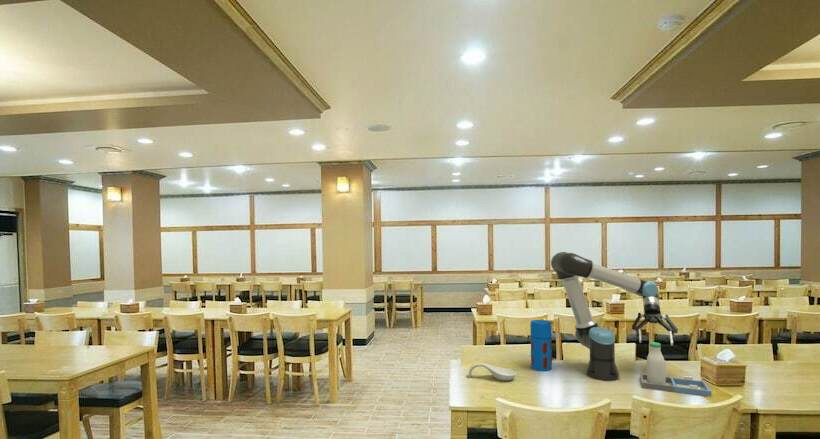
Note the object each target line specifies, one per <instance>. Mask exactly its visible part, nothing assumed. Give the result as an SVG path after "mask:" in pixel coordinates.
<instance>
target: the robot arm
mask: <svg viewBox="0 0 820 439" xmlns="http://www.w3.org/2000/svg"><path fill="white" fill-rule="evenodd" d="M550 266H551V268H552V270H553V271H554V272H555V273H556V277H557V279H558V280H559V281H561V282H562V285H563V288H564V290H565V293H566V296H567V299H568V302H569V305H570V307H571V310H572V313H573V316H574V320H575V325H574V328H575V332H574V334H575V338H576V339H577V342H578V343H579V344H580V345H582V346H583V347H586V348H587V349H588V350H589V361H588V364H587V367H586V371H585V372H586V373H585V374H586V375H587V376H588V377H589V378H592V379H595V380H600V381H611V382H612V381H616V380H619V379H620V374H619V373H620V372H619V369H618V368H617V364H616V361H615V360H616V359H615V358H616V356H615V354H616V353H615V349H616V348H615V347H616V345H615V340H616V338H615V334H614V332H613V331H612V330H611V329H609V328H605V327H603V326H602V327H600V326H599V324H598V321H597V320H596V319H594V318H593V316H592V313H591V310H590V308H589V304H588V302H587V298H586V296H585V293H584V290H583V287H582V284H581V281H580V279H579V277H580V278H583V279H587V278H589V279H593V280H596V281H599V282H601V283H605V284H607V285H608V284H609V285H612V286H614V287H617V288H621V289H622V290H624V291H626V292H629V293H632V294H634V295H637V296H639V297H641V298H642V303H643V311H644V312H643V313H641V312H638V313H637V317H636V319H635V320H634V322H633V323H632V325H631V330H632V331H633V330H634V331H635V333H636V336H637V337H638V340H639V342H638V343H640V344H641V343H642V331H641V329H642V328H643V327H644V326H646V325H647V324H648V323H650V324H659V325H660V326H661V327H663V328H664V329H665V330H666V331H667V332H669V333H668V334H669V335H668V336H669V341H670V346H673V345H674V339H675V338H676V337H675V334H678V331H679V328H677V326H676V325H675V324H674V323H673V321H672V320H671V319H670V317H669V314H665V315H662V313H661V306H660V298H659V287H658V285H657V283H655V281H652V280H644V279H640V278H638V277H635V276H632V275H628V274H626V273H624V272H620V271H617V270H614V269H611V268H608V267H606V266H602V265H600V264H596V263H594V261H592V260H590V259H588V258H585V257H583V256H581V255H579V254H576V253H573V252H566V251H560V252H557V253H555V254H554V255H553V256H552V258H551V260H550ZM642 318H644V319H643V320H642V321H641V322H640V320H641V319H642ZM639 322H640V323H639Z"/></svg>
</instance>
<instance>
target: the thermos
mask: <svg viewBox="0 0 820 439" xmlns="http://www.w3.org/2000/svg"><path fill="white" fill-rule="evenodd" d="M529 327H530V363H531V364H530V365H531V369H532V370H533V371H538V372H550V371H552V370H553V367H552V366H553V355H552V353H553V349H552V348H553V347H552V342H553V341H552V336H553V335H552V321H550V320H546V319H545V320H544V319H532V320H530V326H529Z"/></svg>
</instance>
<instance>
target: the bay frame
mask: <svg viewBox="0 0 820 439" xmlns="http://www.w3.org/2000/svg"><path fill="white" fill-rule="evenodd" d="M639 381H640V386H641V388H642V389H647V390H654V391H661V392H671V393H677V394H685V395H693V396H698V397H699V396H700V397H707V396H712V389H710V387H709V386H708V384H707V382H705V380H704V381H703V380H698V379H697V380H694V379H693V376H690V375H689V376H687V375H684V378H680V377H679V378H678V377H670V376H666V385H662V384H654V383H647V373H646V374H645V373H639ZM645 381H646V382H645ZM668 384H670V385H668ZM677 385H682V386H677ZM683 385H684V386H683ZM686 386H688V387H686ZM701 388H703V389H701Z"/></svg>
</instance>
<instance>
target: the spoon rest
mask: <svg viewBox="0 0 820 439" xmlns="http://www.w3.org/2000/svg"><path fill="white" fill-rule="evenodd" d="M477 367H483V368H484V369H486V370H487V371H489V372H490V373H491V375H493V377H494V378H495V379H496V380H498V381H503V382H508V381H510V380H512V379H514V378H515V377H516V375H517V373H516V371H515V370H512V369H509V368H507V367H500V366H496V365H493V364H489V363H485V362H477V363H474V364H472V365H471V366H470V368H469V370H468V375H467V377H468V379H470V378H471V377H472V372H473V370H475V369H476V368H477Z"/></svg>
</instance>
